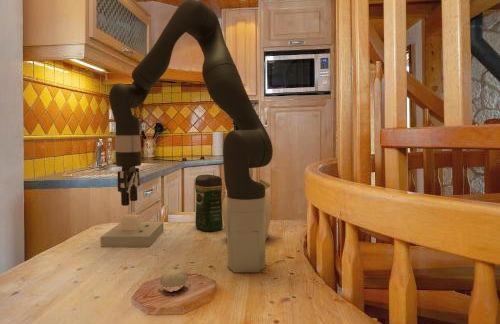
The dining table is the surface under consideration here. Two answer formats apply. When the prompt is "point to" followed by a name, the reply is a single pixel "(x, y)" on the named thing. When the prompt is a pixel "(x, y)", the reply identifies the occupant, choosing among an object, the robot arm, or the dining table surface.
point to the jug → (267, 206)
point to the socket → (132, 235)
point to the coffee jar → (208, 202)
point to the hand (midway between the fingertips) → (129, 203)
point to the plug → (130, 222)
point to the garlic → (174, 277)
